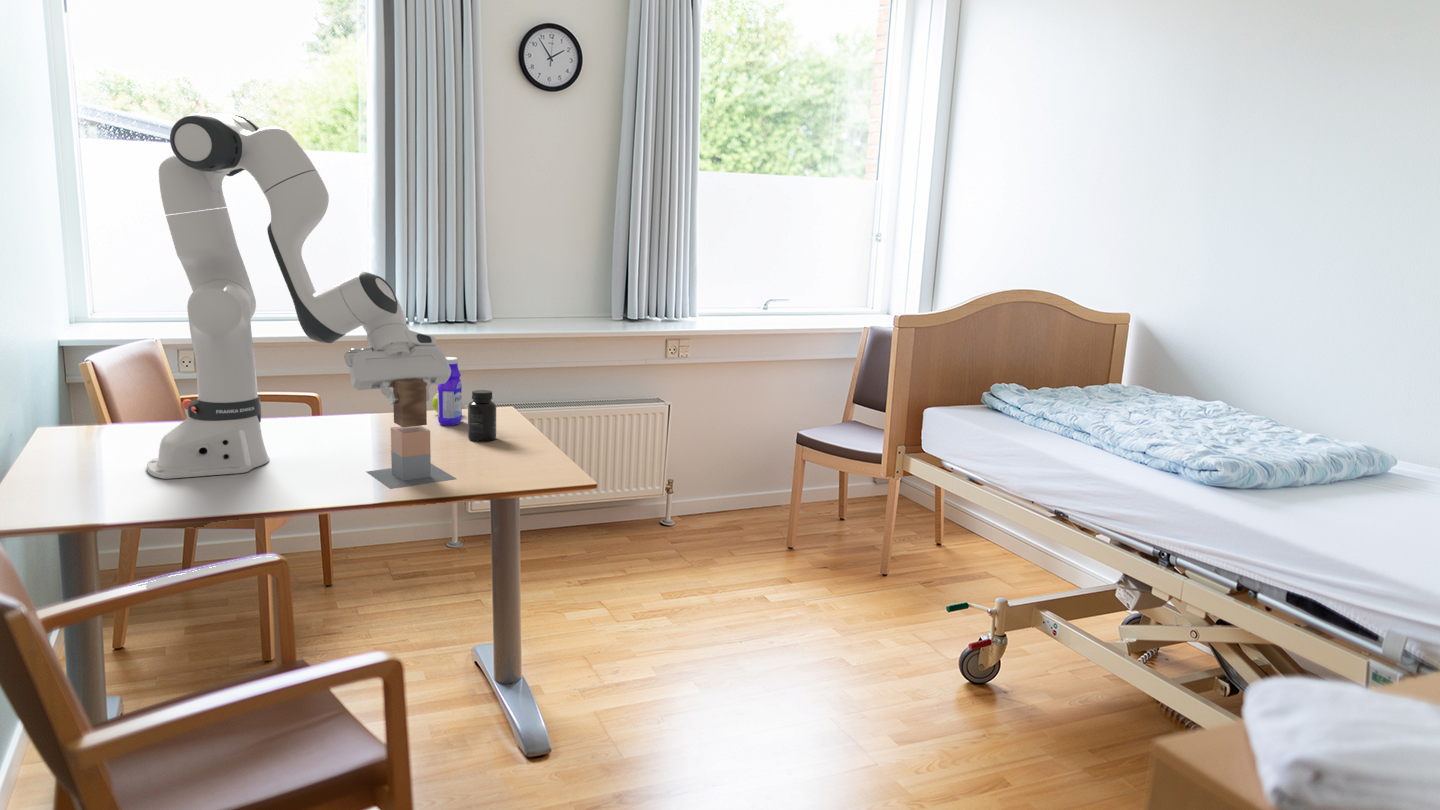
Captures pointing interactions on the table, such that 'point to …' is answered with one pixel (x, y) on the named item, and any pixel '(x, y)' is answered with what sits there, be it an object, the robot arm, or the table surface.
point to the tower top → (410, 441)
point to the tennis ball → (435, 402)
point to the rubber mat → (394, 482)
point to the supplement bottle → (482, 417)
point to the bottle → (450, 396)
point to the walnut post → (410, 403)
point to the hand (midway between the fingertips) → (411, 401)
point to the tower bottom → (411, 466)
